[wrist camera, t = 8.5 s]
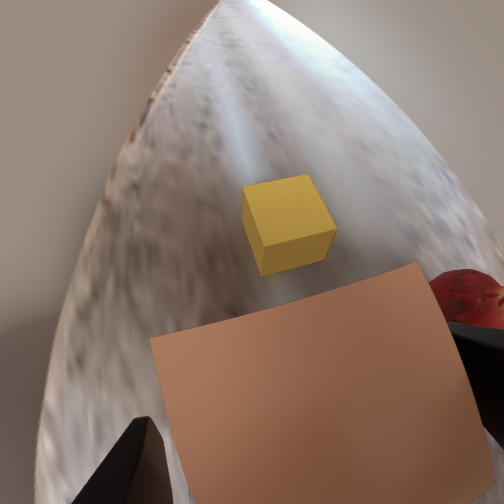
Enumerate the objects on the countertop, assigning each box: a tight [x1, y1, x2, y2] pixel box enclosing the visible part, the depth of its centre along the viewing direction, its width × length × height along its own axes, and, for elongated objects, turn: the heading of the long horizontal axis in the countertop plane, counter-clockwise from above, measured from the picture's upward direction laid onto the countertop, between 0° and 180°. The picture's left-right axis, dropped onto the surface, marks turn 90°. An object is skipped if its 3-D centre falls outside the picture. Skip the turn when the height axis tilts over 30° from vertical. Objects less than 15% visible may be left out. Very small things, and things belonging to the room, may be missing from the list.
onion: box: [429, 269, 504, 329], centre depth 13 cm, size 6×6×8 cm
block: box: [242, 174, 337, 277], centre depth 18 cm, size 4×4×4 cm
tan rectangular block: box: [150, 261, 495, 504], centre depth 9 cm, size 6×6×10 cm
